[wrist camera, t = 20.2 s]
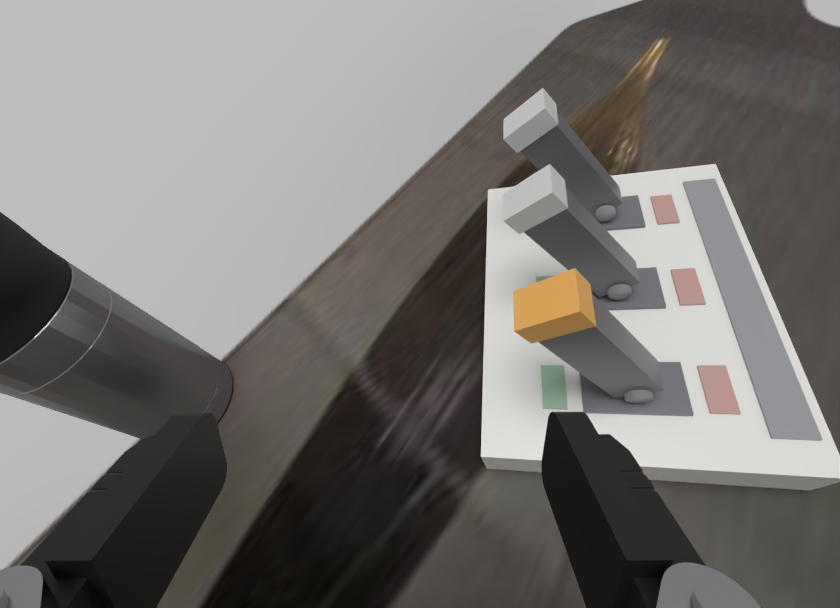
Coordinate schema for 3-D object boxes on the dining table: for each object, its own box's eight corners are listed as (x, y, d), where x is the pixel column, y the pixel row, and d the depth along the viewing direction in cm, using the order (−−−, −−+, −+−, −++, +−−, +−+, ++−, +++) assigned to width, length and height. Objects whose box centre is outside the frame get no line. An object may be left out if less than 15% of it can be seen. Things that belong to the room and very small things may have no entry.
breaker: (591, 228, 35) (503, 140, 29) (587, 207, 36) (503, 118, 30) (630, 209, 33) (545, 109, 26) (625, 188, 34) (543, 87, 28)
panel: (487, 468, 30) (480, 455, 27) (491, 217, 44) (487, 187, 40) (809, 490, 25) (853, 477, 22) (700, 197, 39) (716, 161, 35)
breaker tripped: (616, 406, 27) (513, 333, 20) (611, 370, 28) (513, 289, 21) (673, 398, 25) (580, 313, 18) (664, 359, 26) (574, 266, 19)
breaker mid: (602, 305, 31) (503, 222, 24) (598, 278, 32) (503, 192, 26) (648, 290, 29) (552, 193, 22) (642, 261, 30) (549, 162, 24)
